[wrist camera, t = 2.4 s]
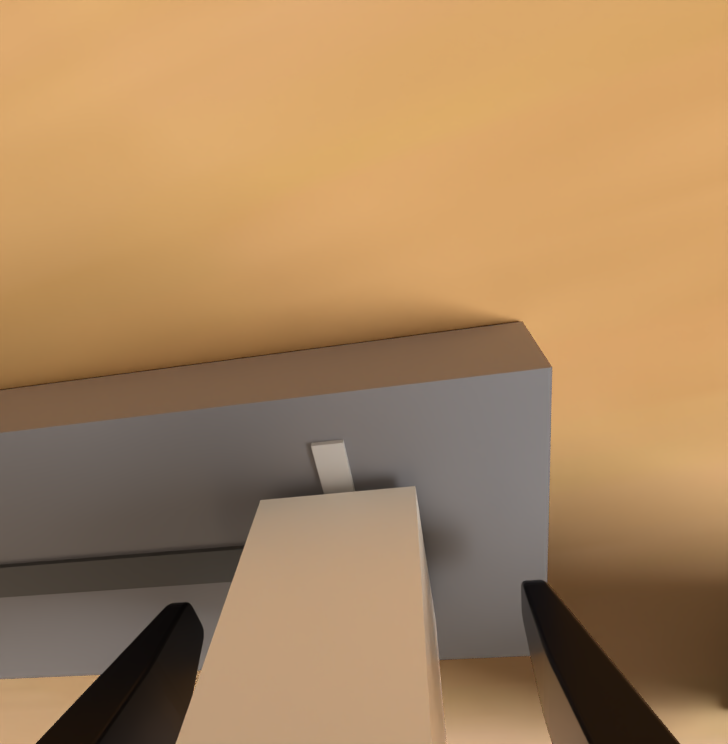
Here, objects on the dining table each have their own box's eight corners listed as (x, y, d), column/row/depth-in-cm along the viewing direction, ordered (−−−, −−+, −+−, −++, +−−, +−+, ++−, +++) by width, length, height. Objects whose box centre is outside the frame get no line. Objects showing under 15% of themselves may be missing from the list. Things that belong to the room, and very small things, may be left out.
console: (524, 583, 13) (546, 659, 11) (-188, 628, 16) (-263, 693, 14) (522, 321, 9) (553, 370, 8) (-402, 443, 12) (-540, 499, 11)
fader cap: (436, 620, 10) (467, 983, 6) (306, 628, 11) (248, 973, 6) (415, 485, 9) (440, 866, 4) (260, 500, 9) (134, 862, 5)
